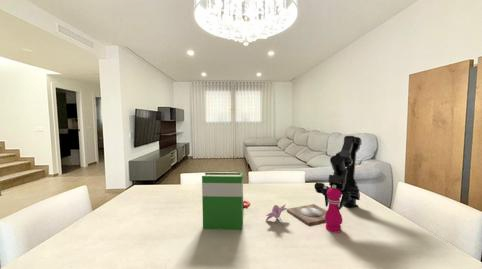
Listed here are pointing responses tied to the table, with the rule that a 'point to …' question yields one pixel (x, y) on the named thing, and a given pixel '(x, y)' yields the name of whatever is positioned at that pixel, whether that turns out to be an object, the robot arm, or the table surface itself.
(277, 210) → the lily
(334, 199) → the pepper mill
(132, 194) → the table surface
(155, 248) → the table surface
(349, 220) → the table surface
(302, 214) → the brown flat square slab
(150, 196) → the table surface
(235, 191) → the hardback book
